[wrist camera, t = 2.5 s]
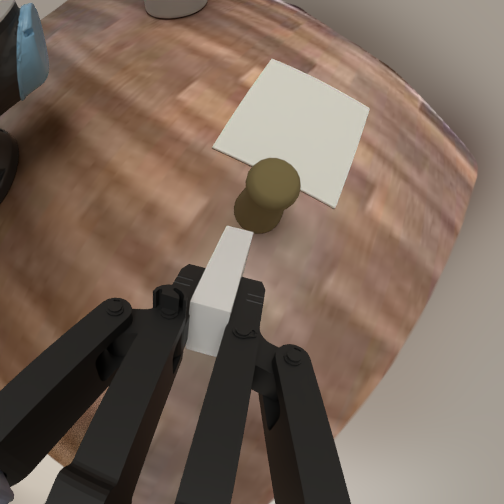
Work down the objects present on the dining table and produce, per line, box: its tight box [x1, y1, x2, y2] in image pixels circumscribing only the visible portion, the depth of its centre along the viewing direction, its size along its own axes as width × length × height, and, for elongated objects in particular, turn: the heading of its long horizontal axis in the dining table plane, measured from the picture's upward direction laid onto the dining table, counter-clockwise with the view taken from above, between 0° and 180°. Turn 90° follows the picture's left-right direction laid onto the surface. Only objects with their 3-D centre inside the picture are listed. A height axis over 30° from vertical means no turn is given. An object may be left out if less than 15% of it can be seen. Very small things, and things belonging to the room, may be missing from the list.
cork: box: [234, 158, 301, 234], centre depth 31 cm, size 6×6×11 cm
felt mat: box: [212, 59, 370, 209], centre depth 38 cm, size 20×18×1 cm
